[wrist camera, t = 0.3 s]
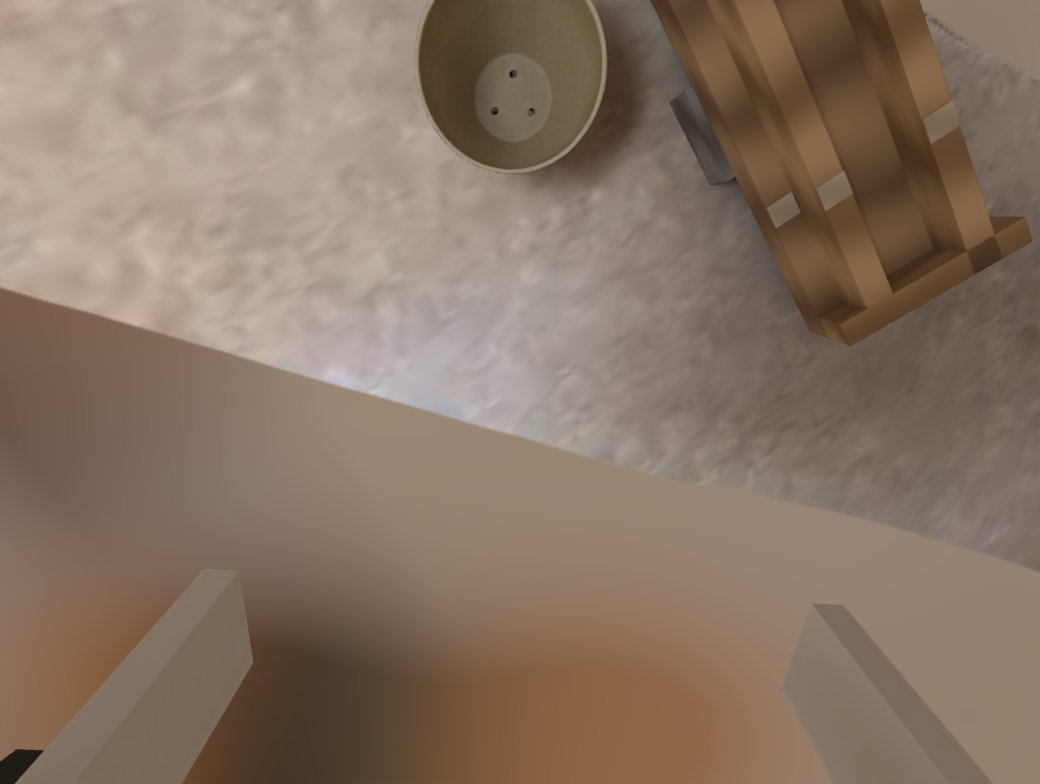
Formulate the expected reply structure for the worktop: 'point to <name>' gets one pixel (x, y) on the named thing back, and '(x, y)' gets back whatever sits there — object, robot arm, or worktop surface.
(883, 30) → the wooden crate
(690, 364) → the worktop surface
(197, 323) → the worktop surface
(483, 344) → the worktop surface
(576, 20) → the flower pot
